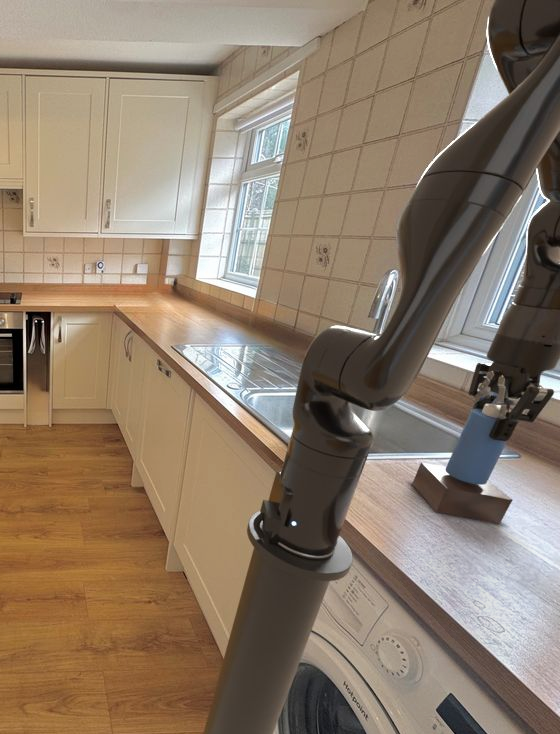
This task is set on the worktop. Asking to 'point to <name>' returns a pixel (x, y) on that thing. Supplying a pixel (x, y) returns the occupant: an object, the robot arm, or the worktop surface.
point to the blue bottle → (476, 447)
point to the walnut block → (460, 495)
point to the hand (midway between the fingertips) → (486, 431)
